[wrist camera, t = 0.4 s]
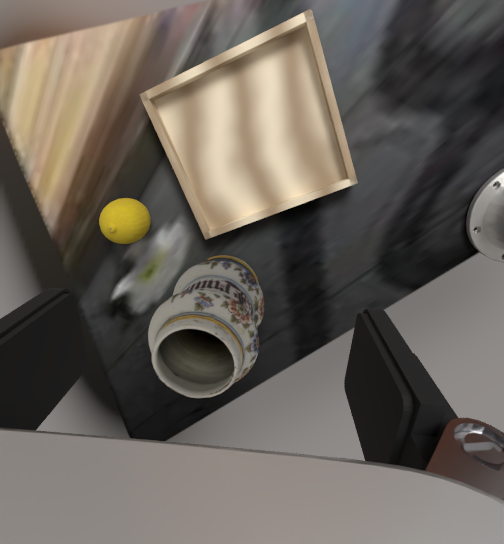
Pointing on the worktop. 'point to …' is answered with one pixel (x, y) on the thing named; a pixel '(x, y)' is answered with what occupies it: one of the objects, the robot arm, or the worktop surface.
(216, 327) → the apothecary jar
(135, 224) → the lemon
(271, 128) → the birch tray
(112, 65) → the worktop surface
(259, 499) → the robot arm
